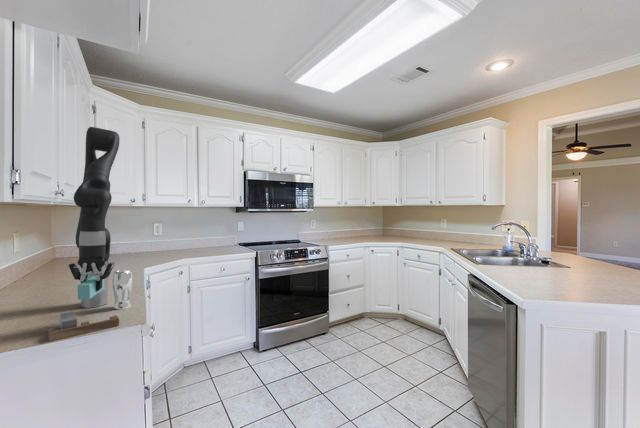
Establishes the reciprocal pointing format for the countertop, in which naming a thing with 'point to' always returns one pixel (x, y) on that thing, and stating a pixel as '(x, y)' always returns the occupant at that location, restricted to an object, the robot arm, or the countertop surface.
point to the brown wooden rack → (82, 328)
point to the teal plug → (88, 288)
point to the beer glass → (122, 288)
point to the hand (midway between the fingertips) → (91, 290)
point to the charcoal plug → (68, 320)
